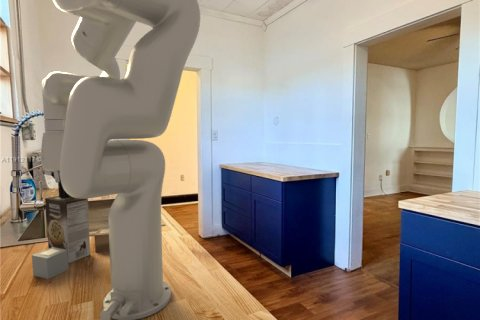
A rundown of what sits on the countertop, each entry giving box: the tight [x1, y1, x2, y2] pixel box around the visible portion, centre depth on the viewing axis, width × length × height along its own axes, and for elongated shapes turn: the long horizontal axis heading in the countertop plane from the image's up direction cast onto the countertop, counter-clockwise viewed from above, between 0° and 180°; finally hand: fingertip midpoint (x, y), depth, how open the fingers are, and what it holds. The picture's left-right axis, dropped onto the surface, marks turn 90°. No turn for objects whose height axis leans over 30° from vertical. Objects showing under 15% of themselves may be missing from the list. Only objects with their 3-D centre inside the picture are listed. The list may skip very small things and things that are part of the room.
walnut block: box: [93, 228, 110, 253], centre depth 81 cm, size 5×5×5 cm
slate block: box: [31, 247, 69, 280], centre depth 67 cm, size 5×5×5 cm
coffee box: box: [44, 195, 91, 264], centre depth 75 cm, size 9×6×16 cm
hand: (66, 196), depth 74 cm, fingers closed
